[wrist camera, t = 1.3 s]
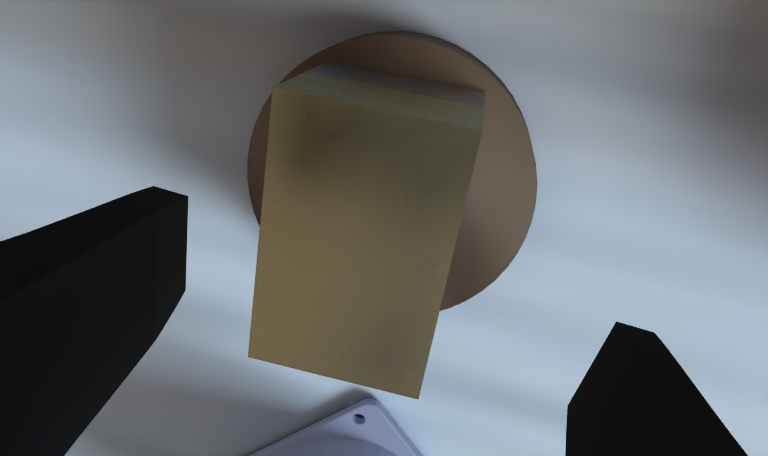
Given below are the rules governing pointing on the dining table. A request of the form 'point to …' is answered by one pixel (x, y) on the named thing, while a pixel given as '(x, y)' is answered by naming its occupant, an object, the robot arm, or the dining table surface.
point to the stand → (492, 166)
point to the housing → (360, 221)
